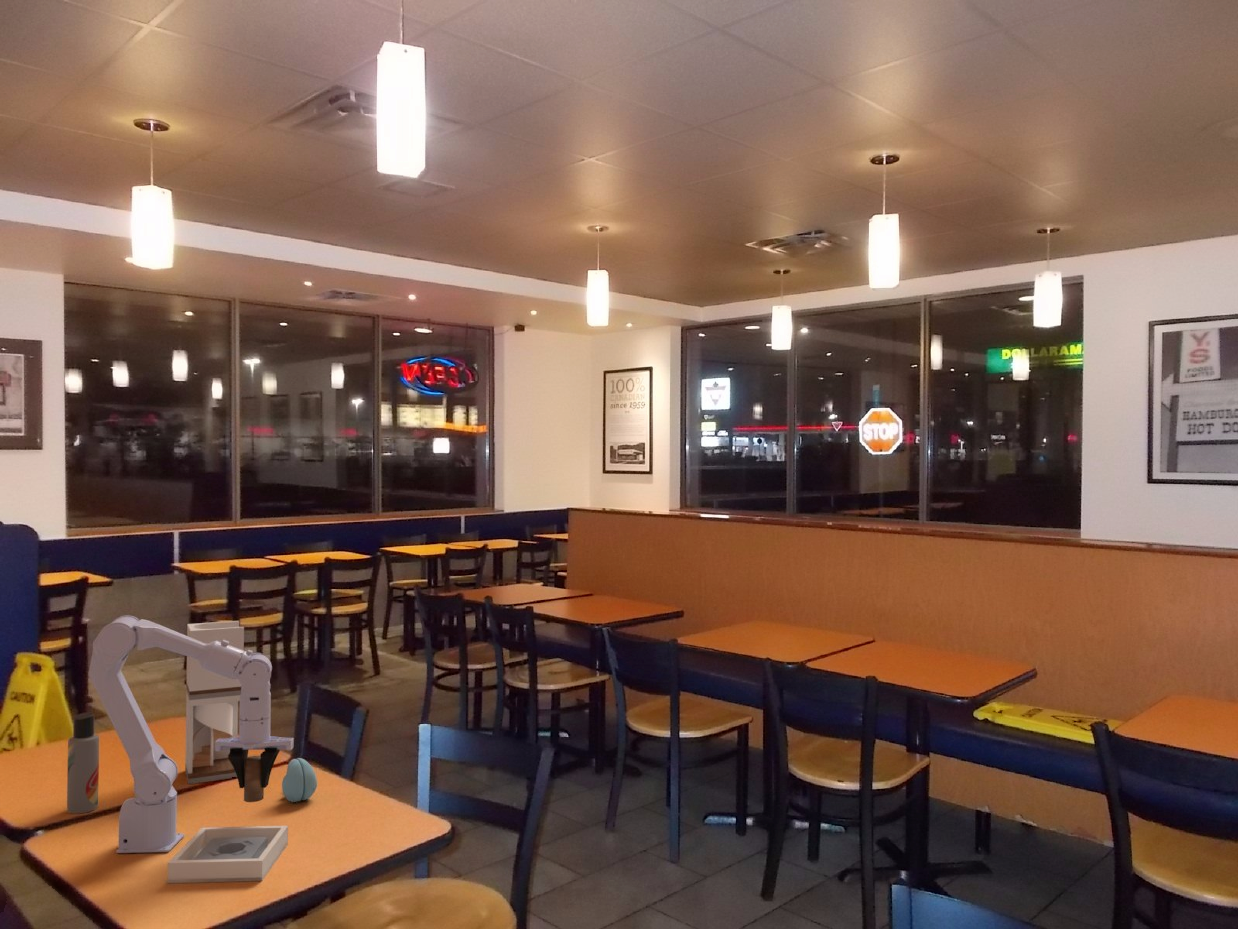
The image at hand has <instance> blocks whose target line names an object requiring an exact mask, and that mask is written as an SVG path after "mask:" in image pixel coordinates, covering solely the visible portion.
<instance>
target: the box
mask: <svg viewBox="0 0 1238 929" xmlns="http://www.w3.org/2000/svg"><path fill="white" fill-rule="evenodd" d="M288 845H289V825H259V826H256V825H255V826H253V825H252V826H250V825H249V826H215V827H214V826H213V827H210V826H209V827H208V826H207V827H204V826H203V827H201V828H200V829H199V830H198V831H197V832H196V833H195V834H194V835H193V836H192V838H191V839H189V841H187V842H186V844H185V845H184V846H183V847H181V849H180V850H179V851H177V853H176V854H175V855H174V856H173V857H172V858H171V859H170V860H169V861H168V862H167V884H187V883H188V884H191V883H193V884H194V883H222V882H224V883H227V882H228V883H229V882H231V883H232V882H233V883H234V882H261V881H262V882H263V881H264V879H265V878H266V876H267V874H268V873H269V872H270V870H271V869H272V868H273V866H274V864H275V863H276V861H278V859H279V857H280V856H281V855H282V853H283V852H284V851H285V849H286V848H287V846H288Z"/></svg>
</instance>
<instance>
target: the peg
mask: <svg viewBox="0 0 1238 929" xmlns="http://www.w3.org/2000/svg"><path fill="white" fill-rule="evenodd" d="M261 780H262V764H261V757H260V755H251V756H249V755H248V757H247V758H245V764H244V788H243V801H244V802H246V803H256V802H260V801H263V799H264V795H265V794H264V791H265V790H264V789H265V788H262V786H261Z"/></svg>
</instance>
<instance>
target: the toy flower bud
mask: <svg viewBox="0 0 1238 929" xmlns="http://www.w3.org/2000/svg"><path fill="white" fill-rule="evenodd" d="M317 780H318V778H317V775H316V771H315V770H314V768H313V766H312V765H311V764H310V763H309V762H308V761H307V760H306V759H304V758H301V757H297V758H293V759H291V760H290V761H289V762H288V765H287V769H286V774H285V775H284V776H283V778H282V782H281V788H282V789H281V790H282V794H283V796H284V797H285V798H286V799H287V801H288V802H290V801H291V802H290V803H292V802H296V801H299V802H300V801H301V800H306V799H308V800H309V799H310V798H311V797H312V796H313V795H314V793H315V792H316V790H317V787H318V781H317ZM306 801H307V800H306ZM296 803H297V802H296Z"/></svg>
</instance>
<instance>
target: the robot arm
mask: <svg viewBox="0 0 1238 929" xmlns="http://www.w3.org/2000/svg"><path fill="white" fill-rule="evenodd" d="M228 644H229V641H226V640H222V642H219V641H213V642H211V643H208V644H205V643H203V642H200V641H198V640H195V639H193V638H191V637H188V636H187V635H185V634H184V633H180V632H178V631H176V630H173V629H170V628H169V627H166V626H164V625H161V624H159V623H156V622H153V621H151V620H148V619H144V618H141V619H139V618H138V617H137V616H133V615H127V614H126V615H120V616H119V617H117V618H115V619H114V620H113V621H111V623H108V624H106V625H105V626H104V627H103V628H102V629H101V630H100V632H98V634H97V635H96V637H95V640H93V642H92V655H91V658H90V664H89V670H88V676H89V679H90V680H91V684H93V687H94V690H95V691H96V693H97V695H98V697H99V700H100V701H101V704H102V706H103V708H104V709H105V712H106V714H107V716H108V718H109V721H110V722H111V724H112V726H113V727H114V728H113V729H114V730H115V732H116V734H117V736H118V739H119V740H120V743H121V744H122V746H123V748H124V750H125V753H126V755H127V757H128V759H129V767H130V768H129V769H130V774H131V776H132V778H133V793H134V795H135V797H132V798H127V799H126V800H125V801H124V802H123V803H122V806H121V807H120V810H119V816H118V848H117V849H116V853H117V854H129V853H131V854H133V853H135V854H136V853H138V854H140V853H167V852H168V853H169V852H170V851H171V850H172V849H173V848H174V847H175V846H176V845H177V844H178V843H179V842H180V841H181V840H182V839H183V838H184V837H185V833H184V832H182V833H181V832H179V833H178V832H177V822H178V821H177V820H178V819H177V814H178V813H177V812H178V810H177V808H178V807H177V806H178V791H176V789H175V787H174V786H173V783H174V782H175V781H176V779H177V778H178V774H179V769H178V765H177V762H176V761H175V760H174V759H172V758H171V757H169V756H168V755H167V754H166V752H165V750H164V749H163V747H162V746H161V745H159V744H158V743H157V742H156V740H155V737H154V736H153V733H152V731H151V729H150V728H149V726H148V724H147V721H146V719H145V718H144V715H143V713H142V711H141V708H140V707H139V705H138V703H137V701H136V698H135V697H134V695H133V692H132V691H131V688H130V686H129V684H128V682H127V680H126V678H125V676H124V674H123V672H122V669H123V667H124V665H125V663H126V661H127V659H128V657H129V655H130V653H131V652H132V651H133V650H134V648H135V647H137V648H136V649H137V651H143V650H147V649H152V648H160V649H163V650H166V651H170V652H173V653H177V654H179V655H182V656H185V657H187V656H188V657H191V658H195V659H198V660H199V662H200V664H201V666H202V668H203V669H206V670H209V671H211V672H214V673H217V674H220V675H223V676H225V677H228V678H231V677H232V678H231V679H239V681H240V683H241V695H240V701H239V716H238V722H239V723H238V728H239V729H238V730H239V731H238V736H237V737H236V738H225V739H218V740H217V741H215V751H221V750H230V754H229V755H228V759H229V761H230V762H231V764H232V766H233V768H234V770H235V772H236V775H237V777H236V778H237V782H238V786H239V789H244V764H245V758H247V757H249V755H248V754H249V751H259V750H260V751H261V750H263V751H262V752H261V753H260V755H259V756H260V757H261V764H262V780H261V786H262V788H264V789H265V788H266V787H268V786H269V782H270V781H269V780H270V777H271V774H272V770H273V767H274V764H275V763H276V762H275V761H276V759H277V757H278V755H279V753H280V752H281V750H285V751H291V750H292V749H293V748H294V741H295V740H294V739H295V738H294V737H283V736H282V737H280V736H274V735H273V736H271V713H272V712H271V711H272V710H271V707H272V706H271V705H272V703H271V701H272V700H271V698H272V694H271V691H270V690H271V685H272V684H271V683H270V682H271V681H270V680H271V678H272V670H273V666H272V662H271V660H270V659H269V658H268V657H267V656H265V655H264V654H263V653H261V652H254V651H253V650H250V649H248V650H245V649H244V650H241V649H238V648H236V647H233V646H230V645H228ZM243 652H244V653H243ZM242 654H243V655H242ZM233 673H234V674H233ZM232 675H233V676H232Z"/></svg>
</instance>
